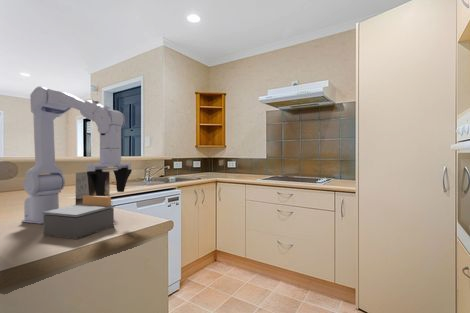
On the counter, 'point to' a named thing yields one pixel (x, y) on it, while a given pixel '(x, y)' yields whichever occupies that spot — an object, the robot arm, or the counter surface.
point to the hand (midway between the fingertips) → (110, 193)
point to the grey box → (78, 224)
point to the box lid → (83, 207)
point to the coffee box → (88, 186)
